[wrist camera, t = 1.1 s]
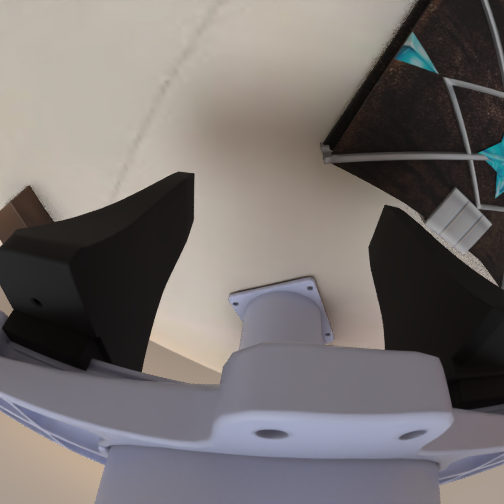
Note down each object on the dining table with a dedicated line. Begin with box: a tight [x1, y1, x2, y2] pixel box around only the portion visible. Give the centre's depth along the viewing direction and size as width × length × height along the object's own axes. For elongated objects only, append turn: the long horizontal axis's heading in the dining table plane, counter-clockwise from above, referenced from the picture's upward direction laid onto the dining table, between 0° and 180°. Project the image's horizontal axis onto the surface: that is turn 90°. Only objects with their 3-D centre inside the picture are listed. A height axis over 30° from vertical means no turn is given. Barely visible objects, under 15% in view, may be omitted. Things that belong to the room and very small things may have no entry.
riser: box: [0, 186, 54, 243], centre depth 25 cm, size 6×6×3 cm
